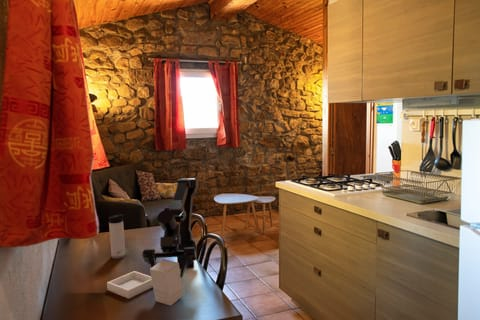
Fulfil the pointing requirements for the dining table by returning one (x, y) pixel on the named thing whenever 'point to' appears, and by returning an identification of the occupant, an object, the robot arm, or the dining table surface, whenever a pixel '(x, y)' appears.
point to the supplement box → (167, 282)
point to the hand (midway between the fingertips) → (167, 277)
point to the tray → (130, 284)
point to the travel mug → (117, 236)
